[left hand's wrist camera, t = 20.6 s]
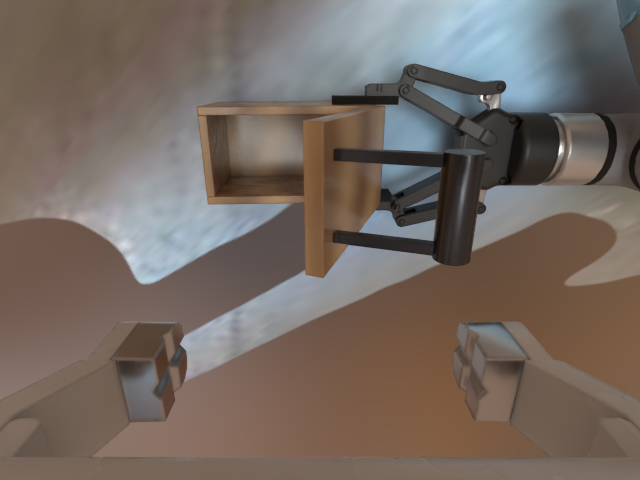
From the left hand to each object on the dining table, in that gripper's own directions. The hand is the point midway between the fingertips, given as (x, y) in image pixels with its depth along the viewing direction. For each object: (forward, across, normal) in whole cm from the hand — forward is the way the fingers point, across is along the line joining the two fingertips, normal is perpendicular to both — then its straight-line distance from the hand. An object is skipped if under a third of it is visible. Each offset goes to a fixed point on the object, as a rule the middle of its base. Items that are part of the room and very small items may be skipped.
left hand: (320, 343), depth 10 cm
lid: (+21, +2, 0) cm, 21 cm away
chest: (+40, -3, 0) cm, 40 cm away
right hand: (+34, +1, 0) cm, 34 cm away
